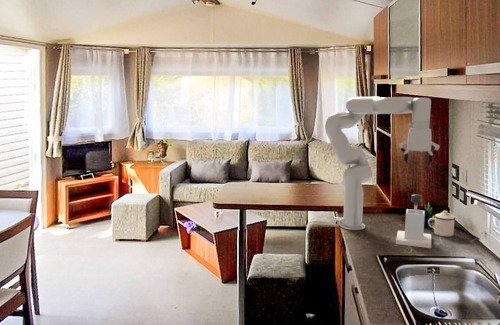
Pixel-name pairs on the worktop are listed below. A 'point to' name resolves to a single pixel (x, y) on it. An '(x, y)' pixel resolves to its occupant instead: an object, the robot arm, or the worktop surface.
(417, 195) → the plunger
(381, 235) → the worktop surface
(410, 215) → the stand
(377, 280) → the worktop surface
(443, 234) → the teacup with lid
